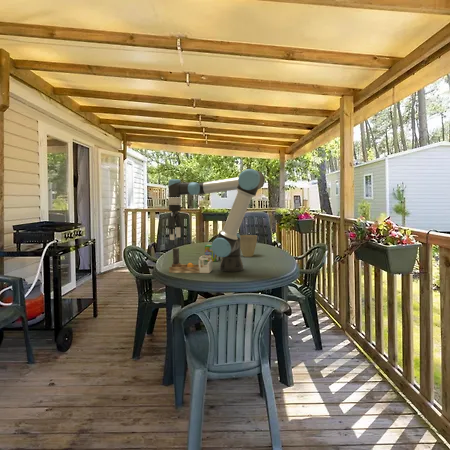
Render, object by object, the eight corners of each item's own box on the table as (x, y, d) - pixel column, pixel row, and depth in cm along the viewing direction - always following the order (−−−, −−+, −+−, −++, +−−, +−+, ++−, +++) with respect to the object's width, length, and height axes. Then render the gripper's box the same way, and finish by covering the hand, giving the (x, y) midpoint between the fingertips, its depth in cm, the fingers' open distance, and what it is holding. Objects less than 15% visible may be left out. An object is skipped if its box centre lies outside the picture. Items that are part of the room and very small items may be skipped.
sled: (180, 267, 226) (180, 248, 225) (178, 269, 220) (177, 249, 219) (174, 267, 226) (174, 247, 225) (171, 269, 220) (171, 249, 219)
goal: (212, 269, 225) (212, 255, 224) (209, 273, 215) (209, 258, 214) (202, 269, 226) (201, 255, 225) (198, 272, 216) (198, 258, 215)
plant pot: (239, 254, 285) (239, 234, 284) (258, 254, 282) (258, 235, 281) (236, 257, 271) (236, 236, 269) (256, 258, 268) (256, 237, 266)
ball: (194, 268, 223) (194, 262, 223) (192, 269, 219) (192, 263, 219) (187, 268, 224) (187, 262, 224) (186, 269, 220) (186, 263, 220)
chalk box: (209, 259, 265) (208, 239, 264) (220, 259, 262) (220, 239, 261) (204, 261, 256) (204, 240, 255) (216, 261, 253) (216, 241, 252)
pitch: (203, 269, 227) (203, 264, 226) (199, 273, 215) (199, 268, 215) (174, 268, 229) (174, 263, 229) (168, 272, 218) (168, 267, 217)
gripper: (174, 204, 233) (175, 236, 235) (162, 204, 208) (163, 240, 210) (185, 204, 232) (186, 236, 233) (174, 204, 207) (175, 241, 209)
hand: (175, 238), depth 222 cm, fingers open, 13 cm apart
